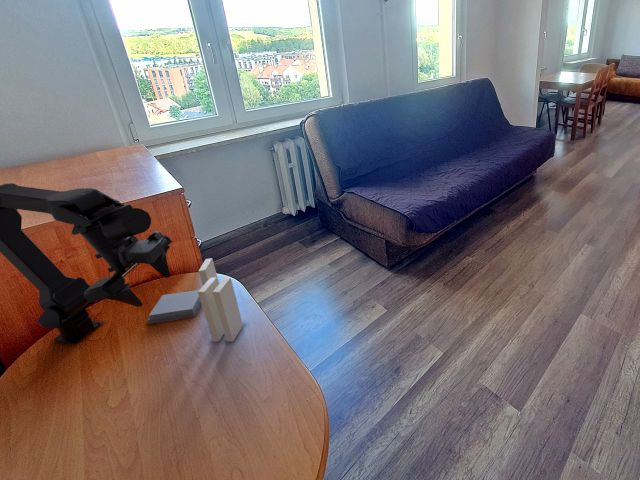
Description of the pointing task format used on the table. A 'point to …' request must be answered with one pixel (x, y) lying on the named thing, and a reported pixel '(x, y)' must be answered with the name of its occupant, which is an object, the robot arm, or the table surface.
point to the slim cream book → (207, 271)
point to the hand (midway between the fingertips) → (155, 290)
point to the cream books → (220, 309)
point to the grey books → (175, 307)
